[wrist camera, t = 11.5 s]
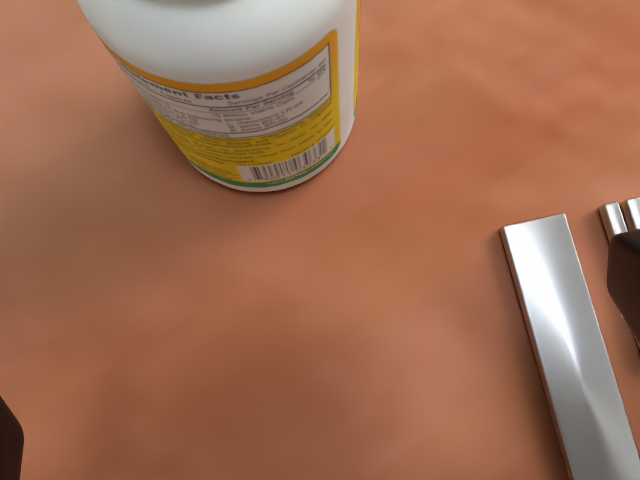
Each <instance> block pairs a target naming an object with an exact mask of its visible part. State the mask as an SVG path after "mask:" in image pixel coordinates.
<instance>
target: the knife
mask: <svg viewBox="0 0 640 480" xmlns="http://www.w3.org/2000/svg"><path fill="white" fill-rule="evenodd" d="M500 234H501V237H502V241H503V244H504V248H505V251H506V255H507V259H508V262H509V266H510V269H511V273H512V276H513V280H514V284H515V287H516V291H517V294H518V298H519V301H520V305H521V308H522V312H523V316H524V319H525V323H526V326H527V330H528V333H529V337H530V341H531V344H532V348H533V351H534V355H535V358H536V362H537V366H538V369H539V373H540V376H541V380H542V383H543V387H544V391H545V394H546V398H547V401H548V405H549V408H550V412H551V416H552V419H553V423H554V426H555V430H556V433H557V437H558V441H559V444H560V448H561V451H562V455H563V458H564V462H565V466H566V469H567V473H568V476H569V480H640V457H639V454H638V451H637V448H636V444H635V441H634V438H633V435H632V431H631V428H630V425H629V421H628V418H627V415H626V412H625V408H624V405H623V402H622V399H621V395H620V392H619V389H618V386H617V382H616V379H615V376H614V372H613V369H612V366H611V363H610V359H609V356H608V353H607V350H606V346H605V343H604V340H603V337H602V333H601V330H600V327H599V323H598V320H597V317H596V314H595V310H594V307H593V304H592V301H591V297H590V294H589V291H588V288H587V284H586V281H585V278H584V274H583V271H582V268H581V265H580V261H579V258H578V255H577V252H576V248H575V245H574V242H573V239H572V235H571V232H570V229H569V225H568V222H567V219H566V216H565V214H564V213H562V214H557V215H552V216H548V217H543V218H538V219H533V220H529V221H524V222H519V223H515V224H510V225H505V226H503V227H502V228H501V229H500Z"/></svg>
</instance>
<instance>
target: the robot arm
mask: <svg viewBox="0 0 640 480" xmlns="http://www.w3.org/2000/svg"><path fill="white" fill-rule="evenodd" d="M607 287H608V291H609V293H610V296H611V298H612V299H613V301H614V303H615V305H616V306H617V308H618V310H619V311H620V313H621V315H622V316H623V318H624V320H625V322H626V323H627V325H628V327H629V328H630V330H631V332H632V333H633V335H634V337H635V338H636V340H637V342H638V344H639V345H640V229H635V230H631V231H627V232H623V233H618V234H616V235H614V236H613V237H612V238H611V240H610V244H609V255H608V268H607ZM23 445H24V434H23V430H22V427H21V425H20V423H19V422H18V420H17V419H16V417H15V416H14V415H13V413H12V412H11V410H10V409H9V407H8V406H7V405H6V403H5V402H4V400H3V399H2V398H1V396H0V480H20V472H21V463H22V454H23Z"/></svg>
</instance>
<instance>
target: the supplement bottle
mask: <svg viewBox="0 0 640 480" xmlns="http://www.w3.org/2000/svg"><path fill="white" fill-rule="evenodd" d="M77 1H78V4H79V6H80V8H81V10H82V12H83V14H84V15H85V17H86V19H87V21H88V22H89V24H90V25H91V27H92V28H93V30H94V31H95V33H96V34H97V35H98V37H99V38H100V40H101V41H102V43H103V44H104V45H105V47H106V48H107V50H108V51H109V53H110V54H111V56H112V57H113V58H114V59H115V61H116V62H117V63H118V65H119V66H120V68H121V69H122V70H123V72H124V73H125V75H126V76H127V77H128V79H129V80H130V82H131V83H132V84H133V86H134V87H135V88H136V90H137V91H138V92H139V94H140V95H141V96H142V98H143V99H144V100H145V102H146V103H147V105H148V106H149V107H150V109H151V110H152V111H153V113H154V114H155V115H156V117H157V118H158V120H159V121H160V122H161V124H162V125H163V127H164V128H165V129H166V131H167V132H168V134H169V135H170V137H171V138H172V140H173V141H174V142H175V144H176V145H177V147H178V148H179V149H180V151H181V152H182V153H183V155H184V156H185V157H186V158H187V159H188V161H189V162H190V163H191V164H192V165H193V166H194V167H195V168H196V169H197V170H198V171H200V172H201V173H202V174H204V175H205V176H207V177H208V178H210V179H212V180H214V181H216V182H218V183H220V184H223V185H225V186H227V187H230V188H234V189H238V190H243V191H252V192H267V191H276V190H281V189H285V188H289V187H292V186H294V185H297V184H300V183H302V182H304V181H306V180H308V179H310V178H311V177H313V176H315V175H316V174H318V173H319V172H320V171H322V170H323V169H324V168H325V167H326V166H327V165H328V164H329V163H330V162H331V161H332V160H333V159H334V158H335V157H336V155H337V154H338V153H339V151H340V150H341V149H342V147H343V146H344V144H345V142H346V140H347V138H348V136H349V134H350V131H351V129H352V125H353V122H354V118H355V112H356V103H357V82H358V54H359V29H360V6H361V0H77Z"/></svg>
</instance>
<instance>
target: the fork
mask: <svg viewBox="0 0 640 480" xmlns="http://www.w3.org/2000/svg"><path fill="white" fill-rule="evenodd" d="M621 208H622V211H623V214H624V217H625V220H626V223H627V226H628V229H629V231H631V230H635V229H640V197H636V198H631V199H627V200H625V201H624V202H622V203H621ZM599 211H600V214H601V217H602V221H603V224H604V227H605V230H606V233H607V236H608V239H609V242H610V240H611V238H612V237H613V236H614V235H616V234H618V233H623V232H627V228H626V225H625V222H624V218H623V215H622V212H621V209H620V206H619V203H618V202H613V203H608V204H604V205H603V206H601V207H600V208H599ZM637 343H638V342H637ZM638 346H639V349H640V345H639V344H638Z"/></svg>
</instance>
